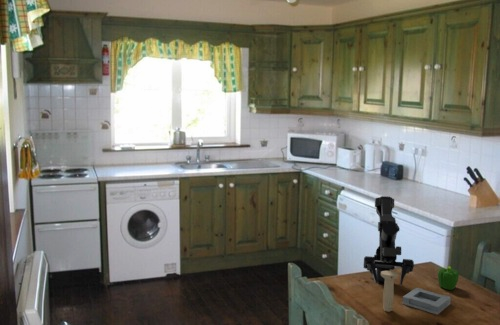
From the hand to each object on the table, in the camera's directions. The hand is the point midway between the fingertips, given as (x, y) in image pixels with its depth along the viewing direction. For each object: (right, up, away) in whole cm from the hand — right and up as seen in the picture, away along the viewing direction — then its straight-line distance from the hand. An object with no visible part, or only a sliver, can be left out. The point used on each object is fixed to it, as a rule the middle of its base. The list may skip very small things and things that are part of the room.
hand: (388, 284), depth 193 cm
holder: (+17, -9, +6) cm, 20 cm away
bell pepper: (+31, -7, +23) cm, 40 cm away
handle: (0, -10, 0) cm, 10 cm away
